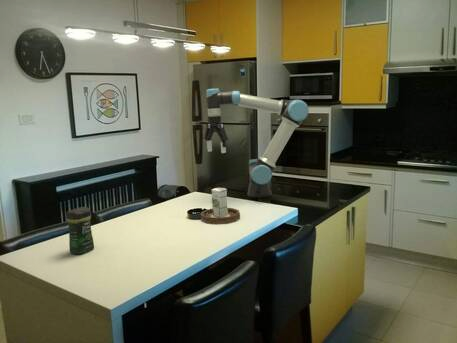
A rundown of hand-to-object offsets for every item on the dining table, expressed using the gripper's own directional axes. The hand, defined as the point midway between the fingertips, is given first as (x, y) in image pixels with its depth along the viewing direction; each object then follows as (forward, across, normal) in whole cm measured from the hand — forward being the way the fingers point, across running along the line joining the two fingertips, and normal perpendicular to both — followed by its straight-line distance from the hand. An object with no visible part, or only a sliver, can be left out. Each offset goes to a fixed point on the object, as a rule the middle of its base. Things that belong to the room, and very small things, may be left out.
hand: (216, 152), depth 238 cm
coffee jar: (+29, +23, -90) cm, 98 cm away
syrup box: (+29, +28, -20) cm, 45 cm away
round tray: (+30, +28, -20) cm, 46 cm away
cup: (+30, +10, -8) cm, 33 cm away
